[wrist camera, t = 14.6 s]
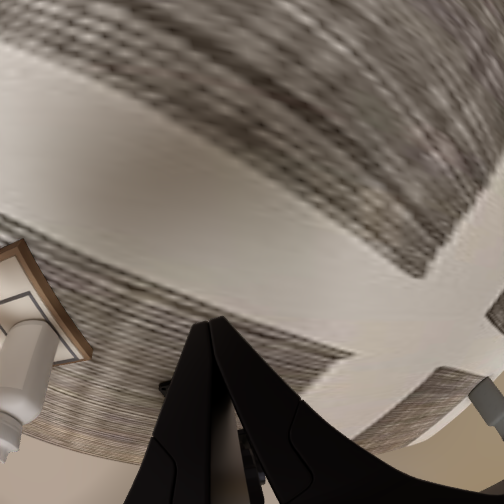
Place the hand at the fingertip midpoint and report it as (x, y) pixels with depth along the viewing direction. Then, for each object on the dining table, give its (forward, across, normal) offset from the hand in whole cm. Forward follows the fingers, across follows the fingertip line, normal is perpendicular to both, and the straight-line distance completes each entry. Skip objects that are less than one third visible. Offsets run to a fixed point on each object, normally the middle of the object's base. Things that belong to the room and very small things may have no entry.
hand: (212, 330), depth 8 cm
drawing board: (+13, +18, +6) cm, 23 cm away
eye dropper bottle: (+12, +17, +8) cm, 22 cm away
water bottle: (+13, -68, +83) cm, 108 cm away
